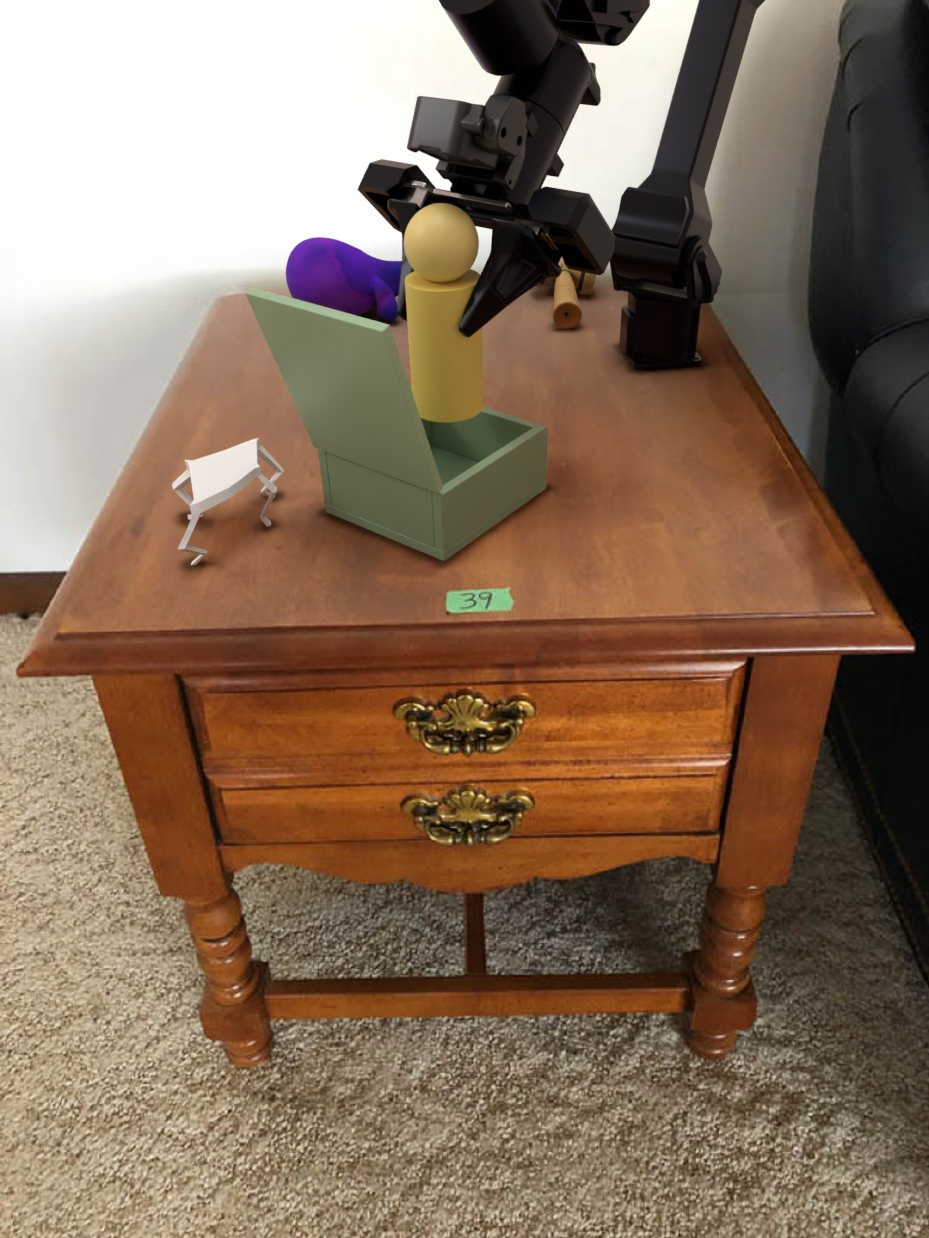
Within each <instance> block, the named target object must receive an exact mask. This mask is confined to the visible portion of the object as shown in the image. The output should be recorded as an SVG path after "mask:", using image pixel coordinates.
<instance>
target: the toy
mask: <svg viewBox="0 0 929 1238" xmlns="http://www.w3.org/2000/svg"><path fill="white" fill-rule="evenodd" d="M401 263H402V260H385V259H381V258H378V257H375V256H372V255H370V254H368V253H366V252H365V251H363V250H362V249H361V248H359V247H356V246H354V245H351V244H349V243H347V242H345V241H342V240H339V239H335V238H331V237H325V236H322V237H321V236H317V237H309V238H306V239H303V240H301V241H300V242H299V243H297V244H296V245H295V246H294V247H293V248H292V250H291V251H290V253H289V255H288V258H287V261H286V265H285V279H286V285H287V288H288V291H289V294H290V297H291V298H294V299H298V300H301V301H305V302H309V303H312V304H316V305H320V306H323V307H327V308H331V309H334V310H338V311H341V312H345V313H349V314H352V315H356V316H361V315H363V314H364V313H367V312H369V311H370V310H372V309H373V308H375V307H376V313H377V315H378V317H379V318H381V319H382V320H383V321H385V322H392V321H395V320H396V319H397V318H398V317H399V316H398V314H397V305H398V301H397V299H396V298H398V295H399V284H400V274H401Z"/></svg>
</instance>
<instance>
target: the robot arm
mask: <svg viewBox="0 0 929 1238" xmlns="http://www.w3.org/2000/svg"><path fill="white" fill-rule="evenodd" d="M765 1H766V0H698V2H697V6H696V9H695V13H694V17H693V20H692V23H691V24H692V25H691V28H690V31H689V35H688V38H687V42H686V45H685V48H684V53H683V56H682V60H681V64H680V68H679V71H678V73H677V78H676V82H675V85H674V89H673V93H672V96H671V100H670V103H669V107H668V111H667V114H666V118H665V121H664V125H663V129H662V133H661V136H660V140H659V142H658V143H659V144H658V147H657V151H656V154H655V157H654V162H653V165H652V168H651V171H650V173H649V174H648V176H647V177H646V178H645V179H644V180H643V181H642V182H641V183H640V184H639V185H638V186H637V187H633V186H627V187H626V188H625V190H624V191H623V193H622V195H620V196H621V197H620V202H619V205H618V206H619V207H618V211H617V212H618V213H617V215H616V218H615V221H614V224H613V226H612V228H611V227H610V225H609V224H608V222H607V220H606V218H605V217H604V215H603V214H602V212H601V210H600V209H599V207H598V206H597V204H596V203H595V201H594V200H593V198H592V195H591V194H590V193H587V192H582V191H576V190H570V189H563V188H558V187H551V186H543V185H544V183H545V180H546V179H547V177H555V178H559V177H560V175H561V173H562V171H563V169H564V166H565V163H564V161H563V159H561V156H560V155H559V150H560V148H561V146H562V144H563V142H564V139H565V138H566V135H567V134H568V130H569V129H570V127H571V124H572V122H573V120H574V119H575V116H576V113H577V111H578V109H579V107H580V105H585V106H591V107H592V106H593V107H597V106H599V105H600V103H601V100H602V97H601V95H602V94H601V93H602V91H601V86H600V84H599V81H598V78H597V74H596V72H597V71H596V68H597V66H596V63H595V62H591V61H589V59H588V57H587V55H586V54H585V52H584V50H583V48H582V47H581V45H580V44H583V45H593V46H594V45H596V46H607V47H617V46H618V47H619V46H620V45H621V44H623V43H624V42H625V41H626V40H627V39H628V38H629V37H630V36H631V34H632V32H633V31H634V30H635V29H636V27H637V26H638V24H639V23H640V22H641V20H642V18H643V17H644V15H646V13H647V11H648V10H649V8H650V6H651V0H438V2H439V4H440V6H441V8H442V9H443V11H444V12H445V14H446V15H447V17H448V18H449V20H450V21H451V23H452V25H453V26H454V28H455V29H456V31H457V32H458V34H459V36H460V37H461V38H462V40H463V42H464V43H465V45H466V46H467V47H468V49H469V51H470V52H471V54H472V55H473V57H474V59H475V60H476V62H477V63H478V65H479V66H480V68H481V69H482V70H484V71H485V72H486V73H487V74H490V75H492V76H496V77H500V78H499V80H498V82H497V85H496V86H495V89H494V91H493V93H492V94H491V95H489V97H488V99H487V100H486V102H485V104H479V103H478V104H477V103H471V102H469V101H463V100H460V99H459V100H457V99H452V98H451V99H449V98H442V97H433V96H425V95H417V97H416V101H415V105H414V111H413V115H412V120H411V125H410V129H409V135H408V140H407V144H406V149H407V150H408V151H410V152H411V153H418V152H420V153H422V154H424V155H427V156H429V157H431V158H434V159H435V160H437V161H438V162H437V164H436V166H435V168H434V169H435V171H437V173H438V174H439V175H440V177H441V179H443V180H447V181H449V182H450V184H451V185H450V187H449V190H447V189H441V188H437V187H436V186H435V185H434V184H433V182H432V181H431V180H430V179H429V178H428V176H427V175H426V174H425V173H424V172H423V170H422V169H421V168H420V167H419V165H418V164H414V163H407V162H402V161H401V162H400V161H397V160H396V161H395V160H389V159H383V158H381V159H378V160H375V161H370V162H369V163H368V166H367V167H366V169H365V172H364V174H363V176H362V178H361V180H360V183H359V185H358V187H357V191H358V192H359V193H360V194H361V195H362V196H363V197H364V199H366V200H367V202H368V203H369V204H370V205H371V206H372V207H373V208H374V209H375V210H376V211H377V212H378V214H380V216H382V217H383V219H384V220H385V221H386V222H387V223H388V224H389V225H390V226H391V227H392V229H394V230H396V231H397V232H399V233H401V261H402V263H401V274H400V284H399V295H398V296H397V314H398V317H399V318H400V319H401V320H403V321H405V322H407V309H406V293H405V278H406V276H407V275H408V274H410V273H412V272H414V269H413V268H412V267H411V265H410V264H409V262H408V260H407V257H406V254H405V249H404V236H405V232H406V228H407V226H408V224H409V222H410V220H411V219H412V217H413V216H414V215H415V214H416V213H417V212H418V211H419V210H421V209H422V208H424V207H426V206H428V205H432V204H436V203H446V204H451V205H454V206H456V207H458V208H460V209H461V210H463V211H464V212H465V213H466V214H467V215H468V216H469V217H470V218H471V220H472V221H473V223H474V225H475V227H476V228H477V227H478V228H483V229H488V230H491V241H490V242H491V243H490V252H489V255H488V257H487V260H486V261H485V264H484V266H483V268H482V271H481V272H480V277H479V279H478V281H477V284H476V286H475V288H474V290H473V292H472V295H471V297H470V299H469V301H468V303H467V306H466V308H465V311H464V313H463V316H462V319H461V322H460V325H459V332H460V333H461V334H462V335H463V336H464V337H471V336H472V335H473V334H474V333H476V332H477V331H478V330H479V329H480V328H482V329H483V327H484V326H486V325H487V324H488V323H489V322H490V321H492V320H493V319H494V318H495V317H496V316H498V315H499V314H500V313H501V312H503V310H505V309H507V307H509V306H510V305H511V304H512V303H513V302H515V301H516V300H518V299H519V298H521V297H522V296H523V295H525V294H526V293H528V292H529V291H531V290H532V289H533V288H536V287H535V286H536V285H538V284H539V283H540V282H542V281H543V280H545V279H546V278H548V277H556V278H557V277H559V276H560V274H561V272H562V269H561V267H560V266H559V261H560V259H561V257H562V258H563V260H564V263H565V265H566V266H567V268H568V269H571V270H576V271H581V272H585V273H590V274H595V275H596V276H599V277H600V276H602V275H603V274H605V272H606V270H607V267H608V265H609V267H610V274H611V280H612V286H613V287H612V288H613V290H614V291H616V292H625V293H627V304H625V305H622V307H621V311H620V329H619V343H618V344H619V348H620V349H621V351H622V353H623V355H624V356H625V357H627V359H628V361H629V363H631V366H632V368H633V369H636V370H648V369H660V368H673V367H687V366H698V365H701V364H702V357H701V356H700V355H699V354H698V352H697V347H698V335H699V327H700V318H701V309H702V305H704V304H705V305H706V304H711V303H713V302H714V301H715V299H714V298H715V295H716V294H717V293H718V290H719V287H720V284H721V277H722V274H723V269H722V267H721V264H720V262H719V261H718V258H717V256H716V255H715V253H714V250H713V248H712V246H711V244H710V238H711V234H712V229H713V219H712V215H711V214H712V213H711V211H710V207H709V202H708V198H707V194H706V185H707V180H708V177H709V174H710V170H711V167H712V164H713V160H714V157H715V153H716V151H717V150H716V148H717V146H718V143H719V140H720V135H721V133H722V130H723V125H724V122H725V119H726V115H727V111H728V108H729V106H730V101H731V99H732V95H733V91H734V88H735V85H736V81H737V77H738V73H739V71H740V67H741V64H742V60H743V56H744V53H745V51H746V50H745V49H746V46H747V43H748V40H749V36H750V32H751V29H752V26H753V22H754V20H755V19H754V18H755V15H756V13H757V10H758V9H759V8H760V7H761V6H762V5H763V4H764V2H765Z"/></svg>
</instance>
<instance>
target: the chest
mask: <svg viewBox="0 0 929 1238" xmlns="http://www.w3.org/2000/svg"><path fill="white" fill-rule="evenodd" d="M421 421H422V424H423V427H424V430H425V433H426V436H427V439H428V442H429V445H430V448H431V451H432V454H433V457H434V460H435V463H436V466H437V469H438V472H439V475H440V478H441V481H442V484H443V488H442V489H441V490H440V491H439V492H438V493H435V492H432V491H429V490H427V489H424V488H421V487H419V486H416V485H413V484H411V483H408V482H405V481H403V480H400V479H397V478H395V477H392V476H389V475H387V474H384V473H381V472H379V471H376V470H373V469H371V468H368V467H365V466H363V465H360V464H357V463H355V462H352V461H349V460H347V459H344V458H341V457H339V456H336V455H333V454H331V453H328V452H325V451H323V450H320V449H317V454H318V462H319V469H320V479H321V486H322V494H323V502H324V509H325V512H326V514H329V515H332V516H334V517H337V518H339V519H341V520H344V521H346V522H349V523H351V524H353V525H356V526H358V527H361V528H363V529H366V530H368V531H371V532H373V533H375V534H377V535H379V536H383V537H385V538H387V539H389V540H392V541H394V542H397V543H399V544H402V545H404V546H406V547H409V548H412V549H413V550H416V551H418V552H421V553H423V554H425V555H428V556H430V557H432V558H435V559H437V560H440V561H442V562H445V561H447V560H448V559H450V558H451V557H452V556H454V555H455V554H457V553H458V552H460V551H461V550H462V549H463V548H465V547H466V546H468V545H469V544H471V543H472V542H474V541H475V540H476V539H478V538H479V537H480V536H482V535H483V534H485V533H486V532H487V531H489V530H490V529H492V528H493V527H494V526H496V525H498V524H499V523H500V522H501V521H503V520H504V519H505V518H507V517H508V516H510V515H511V514H513V513H514V512H516V511H517V510H518V509H519V508H521V507H523V506H524V505H525V504H527V503H528V502H530V501H531V500H533V499H534V498H535V497H536V496H538V495H539V494H541V493H543V492H544V490H546V489H547V479H548V477H547V476H548V475H547V474H548V473H547V472H548V433H549V432H548V428H549V427H548V426H547V425H544V424H541V423H537V422H536V421H535V422H534V421H531V420H529V419H525V418H522V417H518V416H516V415H512V414H508V413H505V412H502V411H499V410H496V409H492V408H489V407H486V406H483V409H482V411H481V412H480V413H479V414H478V415H476V416H474V417H472V418H470V419H467V420H463V421H458V422H433V421H429V420H425V419H423V418H421Z"/></svg>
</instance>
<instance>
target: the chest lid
mask: <svg viewBox="0 0 929 1238" xmlns="http://www.w3.org/2000/svg"><path fill="white" fill-rule="evenodd" d="M244 294H245V297H246V299H247V301H248V303H249V306H250V307H251V310H252V313H253V314H254V316H255V319H256V321H257V323H258V325H259V328H260V330H261V332H262V334H263V337H264V339H265V341H266V344H267V346H268V348H269V350H270V352H271V355H272V357H273V359H274V362H275V364H276V366H277V368H278V371H279V373H280V375H281V377H282V379H283V382H284V383H285V386H286V388H287V391H288V393H289V395H290V398H291V399H292V401H293V403H294V406H295V408H296V410H297V413H298V415H299V417H300V419H301V422H302V424H303V426H304V428H305V431H306V433H307V435H308V437H309V439H310V442H311V444H312V446H313V448H315V449H317V450H318V449H320V450H323V451H325V452H328V453H331V454H333V455H336V456H339V457H341V458H344V459H347V460H349V461H352V462H355V463H357V464H360V465H363V466H365V467H368V468H371V469H373V470H376V471H379V472H381V473H384V474H387V475H389V476H392V477H395V478H397V479H400V480H403V481H405V482H408V483H411V484H413V485H416V486H419V487H421V488H424V489H427V490H429V491H432V492H435V493H438V492H439V491H440V490H441V489H442V488H443V484H442V481H441V478H440V475H439V472H438V469H437V466H436V463H435V460H434V457H433V454H432V451H431V448H430V445H429V442H428V439H427V436H426V433H425V430H424V427H423V424H422V421H421V418H420V415H419V412H418V409H417V406H416V403H415V400H414V397H413V394H412V389H411V384H410V383H409V382H410V381H409V379H408V376H407V373H406V369H405V367H404V363H403V360H402V357H401V354H400V352H399V349H398V346H397V343H396V340H395V336H394V333H393V330H392V327H391V325H390V324H388V323H385V322H382V321H378V320H374V319H370V318H367V317H363V316H361V315H358V316H356V315H352V314H349V313H345V312H341V311H338V310H334V309H331V308H327V307H323V306H320V305H316V304H312V303H309V302H305V301H301V300H298V299H294V298H292V297H291V296H286V295H284V294H283V295H282V294H280V293H275V292H272V291H268V290H265V289H261V288H258V287H254V286H251V287H250V288H248V290H246V292H245V293H244Z"/></svg>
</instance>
